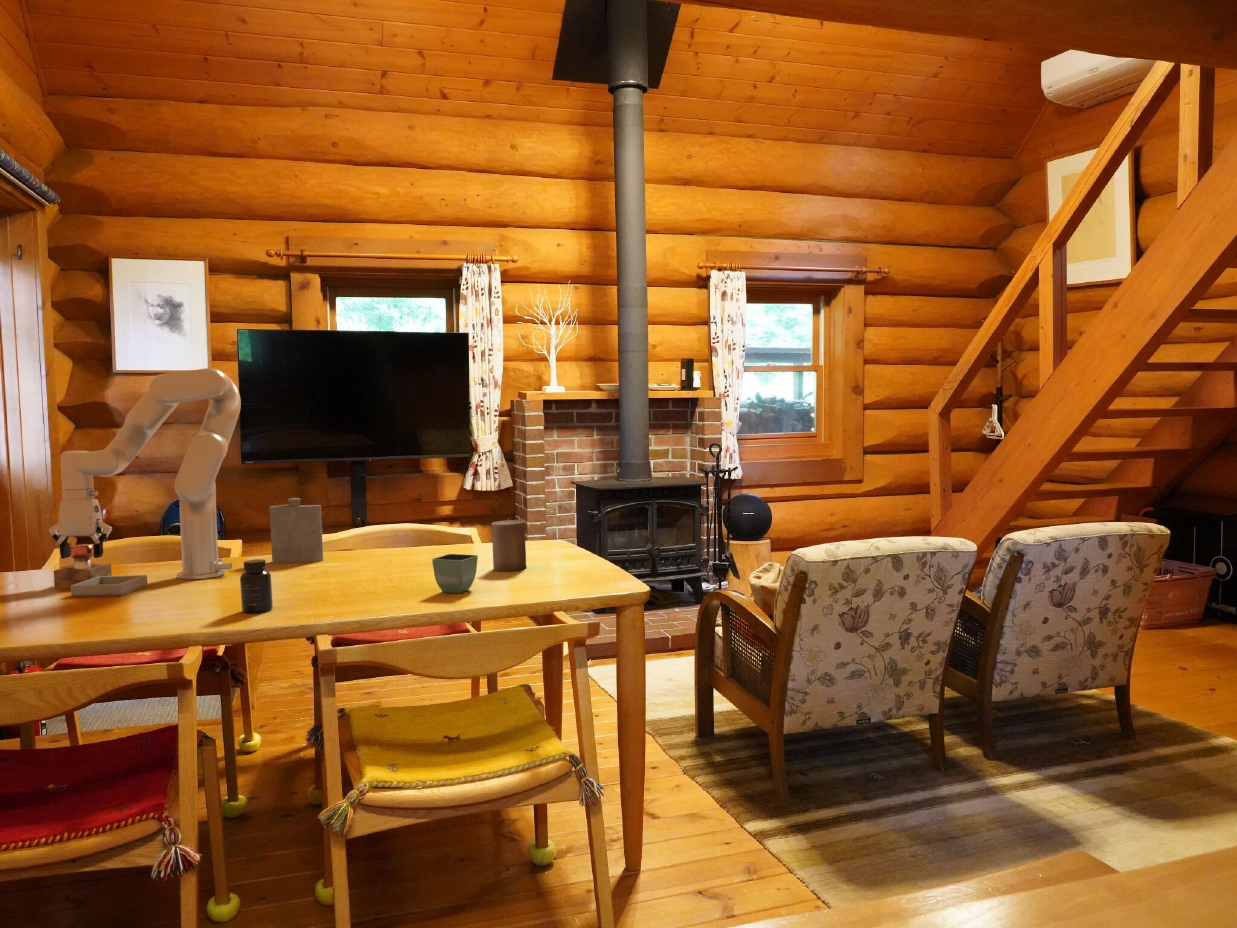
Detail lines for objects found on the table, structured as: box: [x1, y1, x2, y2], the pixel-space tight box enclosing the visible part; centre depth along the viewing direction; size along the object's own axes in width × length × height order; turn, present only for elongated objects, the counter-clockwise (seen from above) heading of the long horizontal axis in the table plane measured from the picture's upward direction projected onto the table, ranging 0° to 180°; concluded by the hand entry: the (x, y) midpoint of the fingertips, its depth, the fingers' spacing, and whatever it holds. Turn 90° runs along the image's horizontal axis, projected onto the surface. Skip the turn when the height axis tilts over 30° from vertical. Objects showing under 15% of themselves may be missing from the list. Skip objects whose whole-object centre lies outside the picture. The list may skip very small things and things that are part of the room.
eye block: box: [53, 563, 113, 590], centre depth 249 cm, size 10×10×5 cm
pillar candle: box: [491, 517, 527, 572], centre depth 261 cm, size 10×10×15 cm
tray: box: [70, 574, 148, 598], centre depth 239 cm, size 13×13×3 cm
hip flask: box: [269, 497, 324, 564], centre depth 281 cm, size 16×4×20 cm, turn 89°
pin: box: [70, 543, 94, 569], centre depth 249 cm, size 6×6×11 cm
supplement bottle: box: [239, 558, 273, 615], centre depth 212 cm, size 7×7×12 cm
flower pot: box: [431, 553, 479, 594], centre depth 230 cm, size 9×9×9 cm
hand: (81, 557), depth 249 cm, fingers open, 8 cm apart
